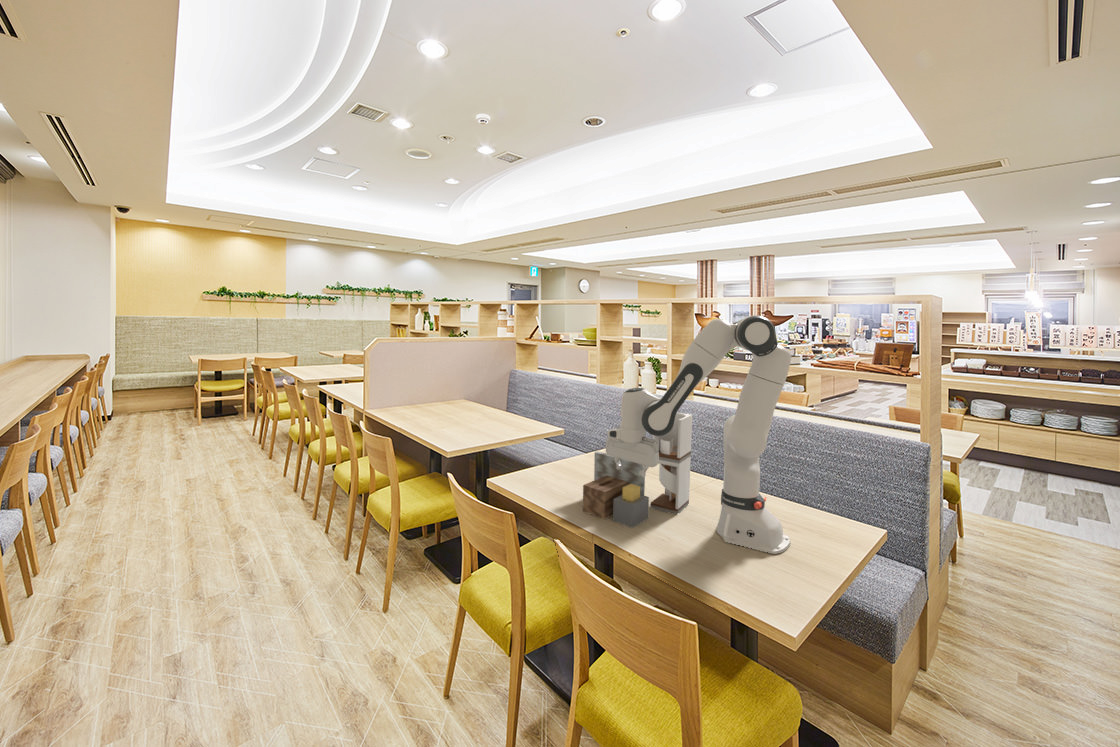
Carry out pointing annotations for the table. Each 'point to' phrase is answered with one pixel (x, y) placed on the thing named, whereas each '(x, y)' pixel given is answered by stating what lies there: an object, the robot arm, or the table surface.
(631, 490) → the yellow tabbed block
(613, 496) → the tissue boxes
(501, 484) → the table surface
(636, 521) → the dark gray slotted block
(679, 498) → the display case
